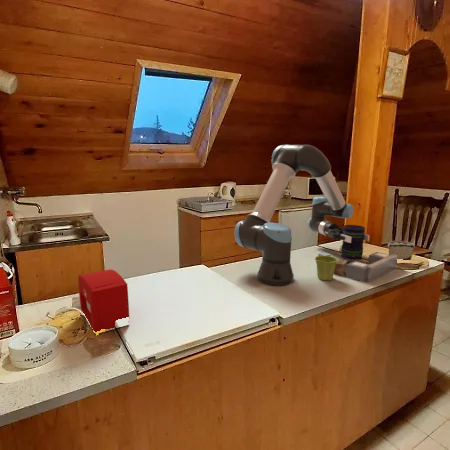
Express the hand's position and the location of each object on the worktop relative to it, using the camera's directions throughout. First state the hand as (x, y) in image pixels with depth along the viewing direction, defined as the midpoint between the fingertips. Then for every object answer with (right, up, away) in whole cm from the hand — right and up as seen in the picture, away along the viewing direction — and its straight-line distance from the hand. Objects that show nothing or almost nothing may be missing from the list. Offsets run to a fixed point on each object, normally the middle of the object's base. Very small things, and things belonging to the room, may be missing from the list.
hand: (359, 239), depth 160 cm
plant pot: (-20, -16, -13) cm, 29 cm away
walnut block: (-12, -15, -6) cm, 20 cm away
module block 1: (-5, -16, -12) cm, 20 cm away
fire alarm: (-101, -24, -49) cm, 115 cm away
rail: (+6, -15, -8) cm, 18 cm away
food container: (+22, -12, +9) cm, 26 cm away
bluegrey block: (-16, -13, +2) cm, 21 cm away
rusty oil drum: (-2, -9, +6) cm, 11 cm away
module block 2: (+10, -13, +2) cm, 17 cm away
